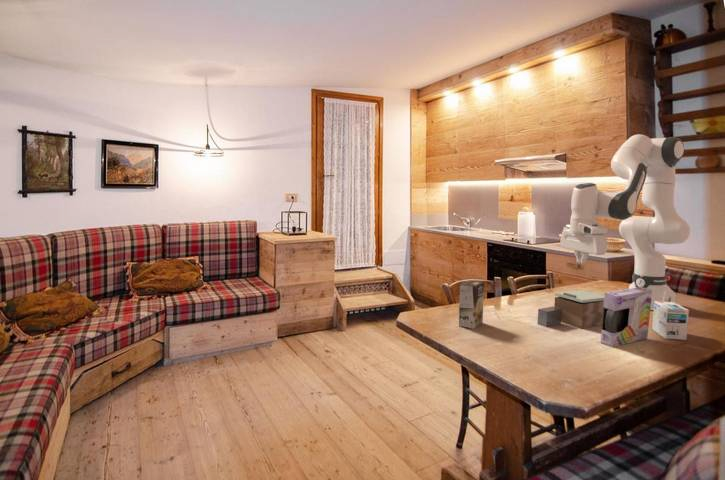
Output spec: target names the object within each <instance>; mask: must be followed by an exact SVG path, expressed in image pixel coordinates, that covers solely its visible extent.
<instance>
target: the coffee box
mask: <svg viewBox="0 0 725 480" xmlns="http://www.w3.org/2000/svg"><path fill="white" fill-rule="evenodd" d="M484 293H485V281H478V280H467V281H465V282H462V283H459V305H458V309H459V311H458V326H459V327H463V328H468V329H473V330H474V329H476V328H478V327H479V326H480V325H481V324H483V321H484V320H483V319H484V300H485V299H484V298H485V295H484Z"/></svg>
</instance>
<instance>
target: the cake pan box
mask: <svg viewBox="0 0 725 480" xmlns="http://www.w3.org/2000/svg"><path fill="white" fill-rule="evenodd" d="M603 295H604V307H603V319H602V324H601V331H600V332H601V335H600V343H601V344H603V345H606V346H608V347H610V348H613V347H618V346H622V345H626V344H629V343H633V342H637V341H641V340H646V339H648V335H649V326H650V325H649V324H650V314H651V310H650V307H651V298H652V290H650V289H647V288H643V287H638V288H632V289H629V288H625V289H624V288H623V289H619V290H613V291H606V292H604V294H603Z"/></svg>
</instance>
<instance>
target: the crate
mask: <svg viewBox="0 0 725 480" xmlns="http://www.w3.org/2000/svg"><path fill="white" fill-rule="evenodd" d="M553 305H554V306H553V307H557V308H560V309H562V316H561V324H562V323H563V324H566V325H569V326H572V327H575V328H578V329H586V328H590V327H596V326H599V325H602V319H603V307H604V300H602V301H594V302H585V303H582V302H578V301H574V300H570V299H567V298H563V297H559V296H555V297H554V304H553Z"/></svg>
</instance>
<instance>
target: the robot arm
mask: <svg viewBox="0 0 725 480" xmlns="http://www.w3.org/2000/svg"><path fill="white" fill-rule="evenodd" d="M684 152H685V146H684V142H683V141H682V139H680V138H679V137H674V136H667V137H655V138H654V137H653V138H650V137H649V136H647V135H645V134H643V133H642V134H639V133H638V134H634V135H632V136H630V137H629V138H627V140H625V142H623V144H621V146H620V147H619V148H618V149H617V151H615V154H614V155H613V157H612V158H611V162H610V167H611V171H612V172H613V173H614V174H615V175H616V176H617V177H619V178H621V179H623V180H627V182H626V185H625V187H624V189H623V190H621V191H617V192H614V191H613V192H612V191H611V192H610V191H609V192H608V191H601V190H599V189H598V186H597V184H596V183H594V182H592V183H591V182H588V183H587V182H586V183H579V184H577V185H575V186H574V187H573V190H572V195H571V200H570V201H571V203H570V208H571V216H570V219H569V221H570V222H569V223H570V224H566V225H565V226H564V227H563V229H562V232H561V237H560V243H559V244H560V248H562V249H566V250H571V251H574V256H575V258H576V262H575V263H578V264H582V265H585V264H586V263H587V259H588V257H589V256H590V255H594V256H604V255H605V254H606V253H607V250H608V237H607V235H606V234H608V227H606V226H604V225H602V224H601V223H599V222H597V219H598V218H604V219H605V218H606V219H607V218H608V219H615V220H620V221H621V222H620V223H619V226H618V232H619V234H620V237H622V239H624V240H625V241H626V242H627V243H628V245H629V246H630V247H631V249H632V252H633V255H634V270H633V273H632V276H631V277H632V282H631V283H630V284H629V286H628V289H632V288H638V287H643V288H647V289H650V290H652V298H651V307H650V311H654V301H661V302H674V303H676V304H678V305H680V306H682V304H681V303H680V302H676V301H675V299H676V292H675V291H673V290H672V288H670V287H669V285H667V284H668V281H670V280H671V276H670V275H666V266H667V265H666V264H667V259H666V257H665V256H664V255H663V254H662V253H661V252H659V251H657V250H656V249H655V248H654V247H653V244H663V245H677V244H683V243H685V242H687V240H688V238H689V237H690V235H691V227H690V224H689V223H688V222H687V221H686V220H685V219H683V218H682V217H681V216H680V214H679V213H678V212H677V210H676V208H675V204H674V202H675V201H674V196H675V189H676V188H675V185H676V165H677V163H679V161H680V160H681V159H682V158H683V156H684ZM641 192H642V194H641ZM640 194H641V195H640ZM640 196H641V202H642V204H643V205H644V206H645V207H647V208H649V209H650V210H653V211H654V216H642V215H641V216H640V215H639V216H638V215H637V216H633V214H634V213H635V212H636V209H637V206H638V201H639V198H640Z"/></svg>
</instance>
